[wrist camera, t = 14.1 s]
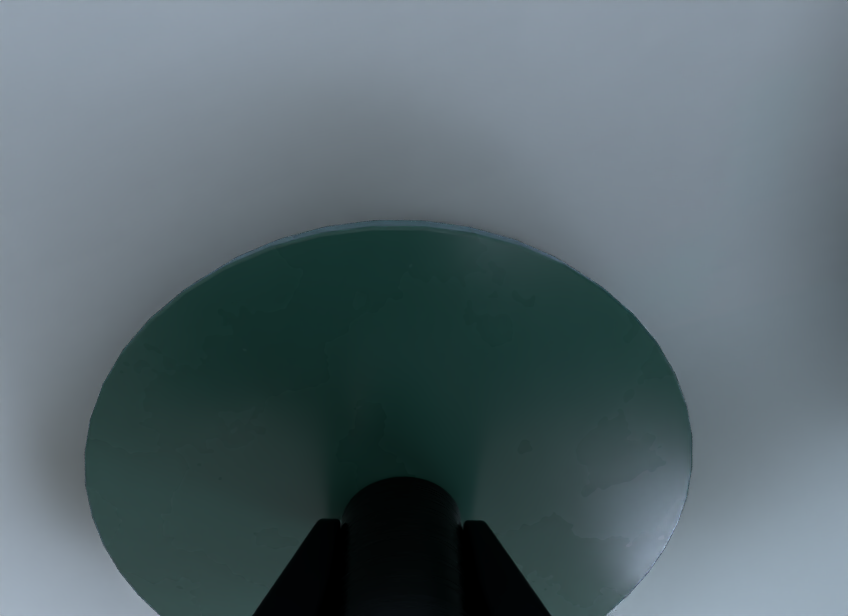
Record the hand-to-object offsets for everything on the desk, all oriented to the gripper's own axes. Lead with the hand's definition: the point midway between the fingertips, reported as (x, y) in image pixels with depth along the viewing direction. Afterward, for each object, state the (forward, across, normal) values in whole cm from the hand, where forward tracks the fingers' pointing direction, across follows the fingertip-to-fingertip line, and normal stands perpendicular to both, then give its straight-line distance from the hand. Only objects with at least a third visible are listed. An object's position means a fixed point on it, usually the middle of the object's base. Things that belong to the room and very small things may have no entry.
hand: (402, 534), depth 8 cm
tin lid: (+1, 0, 0) cm, 1 cm away
